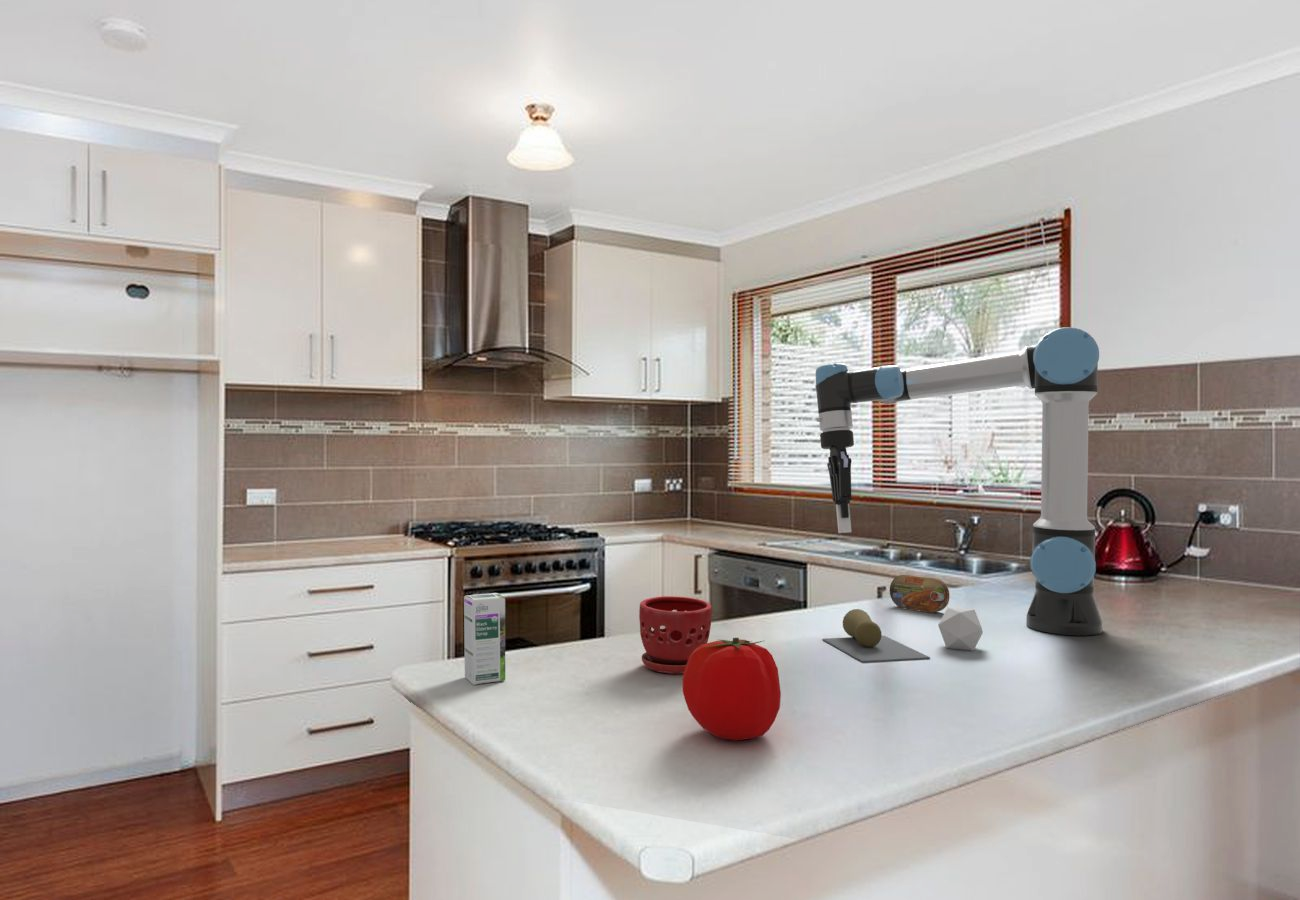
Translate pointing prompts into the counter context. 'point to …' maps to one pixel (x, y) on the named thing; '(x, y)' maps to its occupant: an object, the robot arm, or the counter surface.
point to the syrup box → (484, 638)
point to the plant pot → (673, 631)
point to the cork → (862, 628)
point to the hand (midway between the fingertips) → (844, 532)
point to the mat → (876, 650)
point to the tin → (919, 593)
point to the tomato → (732, 688)
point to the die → (960, 628)
